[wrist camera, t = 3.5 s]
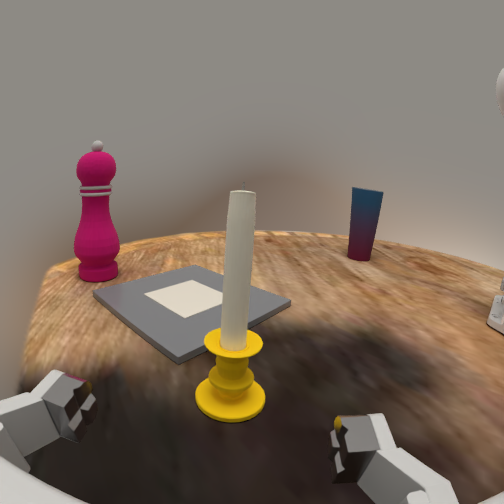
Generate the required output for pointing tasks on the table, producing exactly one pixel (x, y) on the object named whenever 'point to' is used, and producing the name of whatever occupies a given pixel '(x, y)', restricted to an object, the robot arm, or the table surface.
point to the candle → (234, 325)
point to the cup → (363, 222)
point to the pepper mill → (96, 217)
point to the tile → (180, 308)
